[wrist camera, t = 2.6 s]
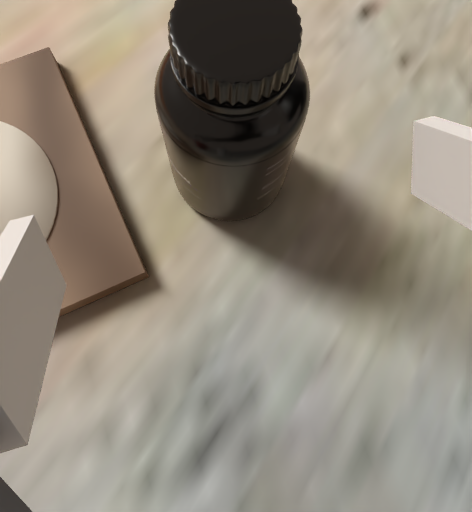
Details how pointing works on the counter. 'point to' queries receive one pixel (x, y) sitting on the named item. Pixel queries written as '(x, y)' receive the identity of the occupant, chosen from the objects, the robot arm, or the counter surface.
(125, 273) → the walnut board
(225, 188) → the supplement bottle
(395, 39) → the counter surface
